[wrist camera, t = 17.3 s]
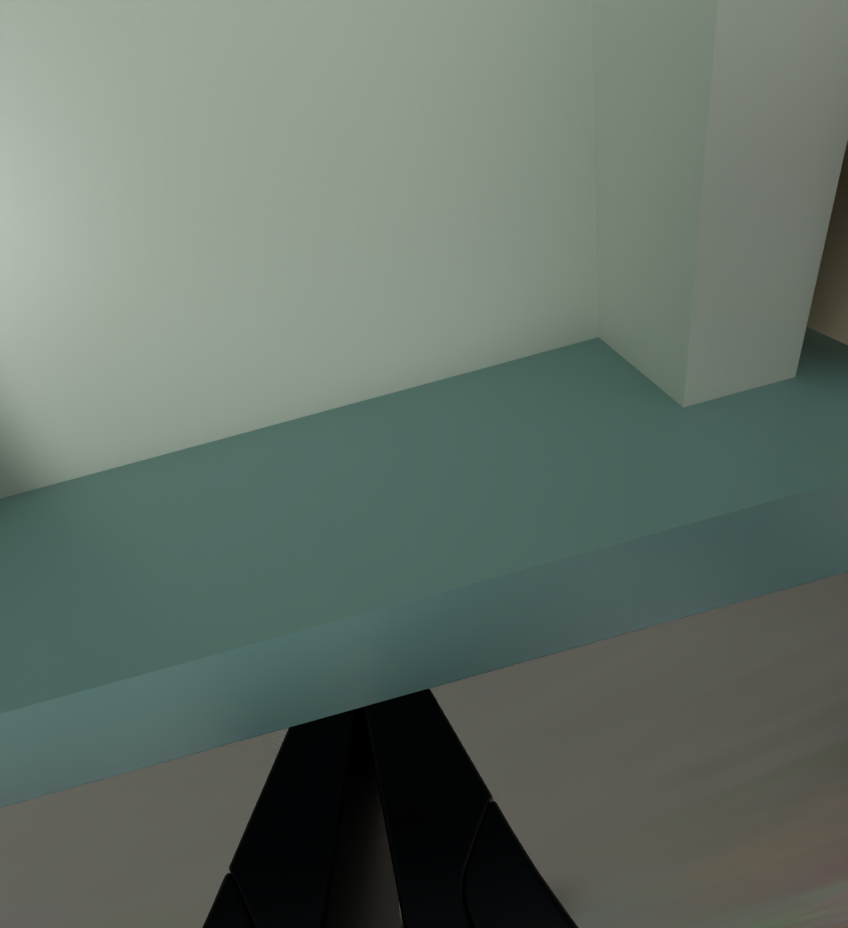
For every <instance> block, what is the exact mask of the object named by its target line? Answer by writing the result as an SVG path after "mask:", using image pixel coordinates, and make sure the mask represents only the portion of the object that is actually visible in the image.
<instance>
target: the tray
mask: <svg viewBox="0 0 848 928" xmlns="http://www.w3.org/2000/svg"><path fill="white" fill-rule="evenodd" d="M847 140H848V0H0V808H2V807H5V806H9V805H12V804H16V803H20V802H23V801H27V800H30V799H34V798H37V797H41V796H45V795H48V794H52V793H55V792H59V791H63V790H66V789H70V788H73V787H77V786H81V785H84V784H88V783H91V782H95V781H98V780H102V779H106V778H109V777H113V776H116V775H120V774H124V773H127V772H131V771H134V770H138V769H142V768H145V767H149V766H152V765H156V764H159V763H163V762H167V761H170V760H174V759H177V758H181V757H185V756H188V755H192V754H195V753H199V752H203V751H206V750H210V749H213V748H217V747H221V746H224V745H228V744H231V743H235V742H238V741H242V740H246V739H249V738H253V737H256V736H260V735H264V734H267V733H271V732H274V731H278V730H282V729H285V728H289V727H292V726H296V725H299V724H303V723H307V722H310V721H314V720H317V719H321V718H325V717H328V716H332V715H335V714H339V713H343V712H346V711H350V710H353V709H357V708H360V707H364V706H368V705H371V704H375V703H378V702H382V701H386V700H389V699H393V698H396V697H400V696H404V695H407V694H411V693H414V692H418V691H422V690H425V689H429V688H432V687H436V686H439V685H443V684H447V683H450V682H454V681H457V680H461V679H465V678H468V677H472V676H475V675H479V674H483V673H486V672H490V671H493V670H497V669H500V668H504V667H508V666H511V665H515V664H518V663H522V662H526V661H529V660H533V659H536V658H540V657H544V656H547V655H551V654H554V653H558V652H561V651H565V650H569V649H572V648H576V647H579V646H583V645H587V644H590V643H594V642H597V641H601V640H605V639H608V638H612V637H615V636H619V635H622V634H626V633H630V632H633V631H637V630H640V629H644V628H648V627H651V626H655V625H658V624H662V623H666V622H669V621H673V620H676V619H680V618H684V617H687V616H691V615H694V614H698V613H701V612H705V611H709V610H712V609H716V608H719V607H723V606H727V605H730V604H734V603H737V602H741V601H745V600H748V599H752V598H755V597H759V596H762V595H766V594H770V593H773V592H777V591H780V590H784V589H788V588H791V587H795V586H798V585H802V584H806V583H809V582H813V581H816V580H820V579H823V578H827V577H831V576H834V575H838V574H841V573H845V572H848V345H846V344H844V343H842V342H839V341H837V340H835V339H833V338H831V337H829V336H826V335H824V334H822V333H820V332H818V331H815V330H813V329H811V328H809V327H807V322H808V317H809V313H810V308H811V304H812V299H813V294H814V290H815V285H816V281H817V276H818V272H819V267H820V263H821V258H822V254H823V249H824V244H825V240H826V235H827V231H828V226H829V222H830V217H831V213H832V208H833V204H834V199H835V194H836V190H837V185H838V181H839V176H840V172H841V167H842V163H843V158H844V154H845V149H846V145H847Z"/></svg>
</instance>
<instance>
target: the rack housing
mask: <svg viewBox="0 0 848 928" xmlns="http://www.w3.org/2000/svg"><path fill="white" fill-rule="evenodd" d="M807 327H809V328H811V329H813V330H815V331H818V332H820V333H822V334H824V335H826V336H829V337H831V338H833V339H835V340H837V341H839V342H842V343H844V344H846V345H848V140H847V145H846V149H845V154H844V158H843V163H842V167H841V172H840V176H839V181H838V185H837V190H836V194H835V199H834V204H833V208H832V213H831V217H830V222H829V226H828V231H827V235H826V240H825V244H824V249H823V254H822V258H821V263H820V267H819V272H818V276H817V281H816V285H815V290H814V294H813V299H812V304H811V308H810V313H809V317H808V322H807Z"/></svg>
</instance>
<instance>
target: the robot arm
mask: <svg viewBox="0 0 848 928" xmlns="http://www.w3.org/2000/svg"><path fill="white" fill-rule="evenodd" d="M229 870H230V873H231V874H230V873H228V874H226V875H225V877H224V879H223V882H222V884H221V886H220V889H219V891H218V893H217V896H216V898H215V901H214V903H213V905H212V908H211V910H210V912H209V914H208V917H207V919H206V921H205V923H204V925H203V928H400V916H399V903H400V909H401V914H402V920H403V925H404V928H578V926H577V925H576V924H575V922H574V921H573V920H572V918H571V917H570V916H569V914H568V913H567V911H566V910H565V908H564V907H563V906H562V904H561V903H560V901H559V900H558V899H557V897H556V896H555V894H554V893H553V892H552V890H551V889H550V887H549V886H548V884H547V883H546V882H545V880H544V879H543V877H542V876H541V875H540V873H539V872H538V870H537V869H536V867H535V866H534V864H533V862H532V861H531V859H530V858H529V856H528V854H527V853H526V851H525V850H524V848H523V846H522V845H521V843H520V842H519V840H518V838H517V837H516V835H515V834H514V832H513V830H512V829H511V827H510V825H509V823H508V822H507V820H506V818H505V817H504V815H503V813H502V811H501V810H500V808H499V806H498V805H497V803H496V802H495V801H493V797H492V795H491V793H490V791H489V790H488V788H487V786H486V785H485V783H484V781H483V779H482V778H481V776H480V774H479V772H478V771H477V769H476V767H475V766H474V764H473V762H472V760H471V759H470V757H469V755H468V754H467V752H466V750H465V748H464V747H463V745H462V743H461V742H460V740H459V738H458V736H457V735H456V733H455V731H454V730H453V728H452V726H451V724H450V723H449V721H448V719H447V717H446V716H445V714H444V712H443V711H442V709H441V707H440V705H439V704H438V702H437V700H436V699H435V697H434V695H433V693H432V692H431V690H430V688H429V689H425V690H422V691H418V692H414V693H411V694H407V695H404V696H400V697H396V698H393V699H389V700H386V701H382V702H378V703H375V704H371V705H368V706H364V707H360V708H357V709H353V710H350V711H346V712H343V713H339V714H335V715H332V716H328V717H325V718H321V719H317V720H314V721H310V722H307V723H303V724H299V725H296V726H292V727H289V729H288V731H287V734H286V736H285V738H284V741H283V743H282V745H281V748H280V750H279V752H278V755H277V757H276V759H275V762H274V764H273V766H272V769H271V771H270V773H269V776H268V778H267V780H266V783H265V785H264V787H263V789H262V792H261V794H260V796H259V799H258V801H257V803H256V806H255V808H254V810H253V813H252V815H251V817H250V820H249V822H248V824H247V827H246V829H245V831H244V834H243V836H242V838H241V841H240V843H239V845H238V848H237V850H236V852H235V855H234V857H233V859H232V862H231V864H230V866H229Z"/></svg>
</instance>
